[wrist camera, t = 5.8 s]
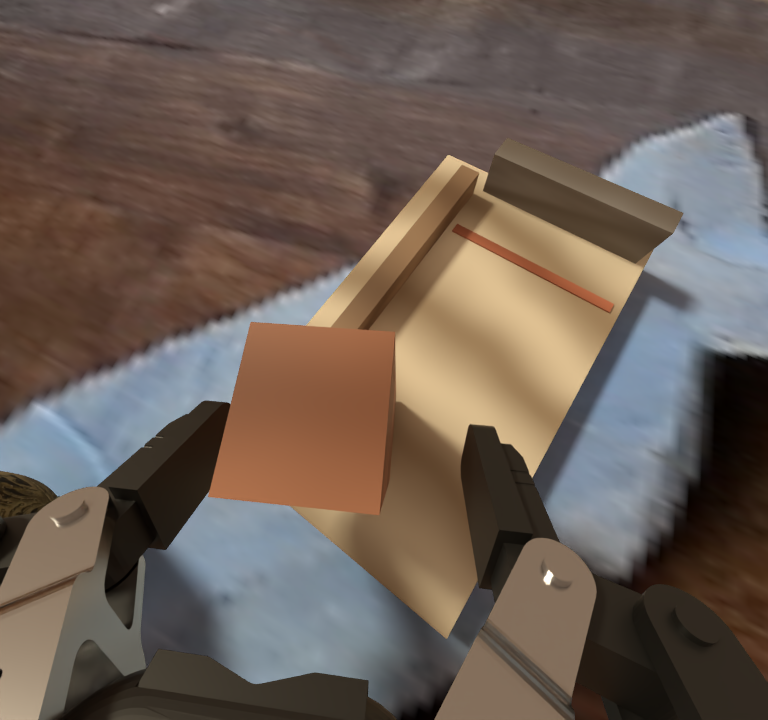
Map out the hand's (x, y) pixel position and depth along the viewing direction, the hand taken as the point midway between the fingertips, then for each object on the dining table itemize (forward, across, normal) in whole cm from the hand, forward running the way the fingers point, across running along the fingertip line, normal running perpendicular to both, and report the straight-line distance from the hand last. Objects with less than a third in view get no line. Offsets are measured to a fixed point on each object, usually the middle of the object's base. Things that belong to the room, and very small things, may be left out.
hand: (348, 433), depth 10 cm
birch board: (+9, +4, 0) cm, 10 cm away
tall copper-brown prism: (+4, 0, -3) cm, 5 cm away
